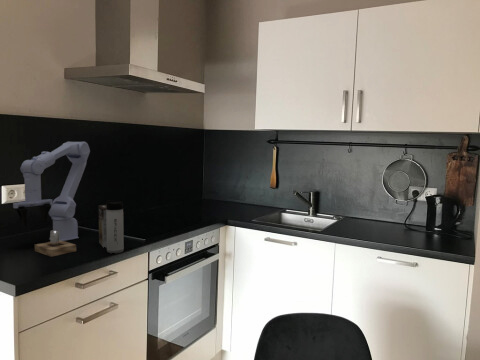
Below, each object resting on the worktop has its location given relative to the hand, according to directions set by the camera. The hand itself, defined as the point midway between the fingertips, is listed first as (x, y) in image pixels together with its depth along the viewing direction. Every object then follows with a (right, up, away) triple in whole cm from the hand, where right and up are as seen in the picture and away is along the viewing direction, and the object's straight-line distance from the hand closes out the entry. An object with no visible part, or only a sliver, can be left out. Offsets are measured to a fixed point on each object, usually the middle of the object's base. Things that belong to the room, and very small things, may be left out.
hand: (34, 224), depth 159 cm
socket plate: (+11, -10, -5) cm, 15 cm away
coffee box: (+28, -10, +7) cm, 30 cm away
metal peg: (+11, -10, -5) cm, 15 cm away
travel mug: (+34, -11, -4) cm, 35 cm away
